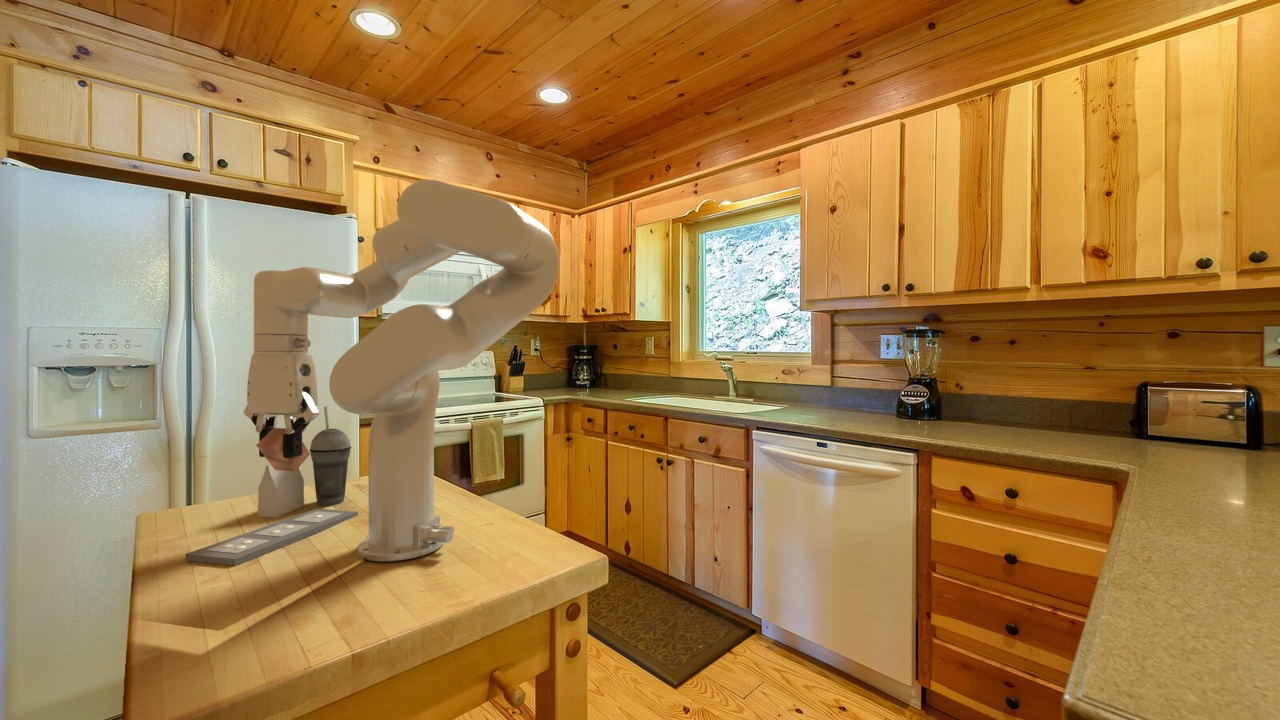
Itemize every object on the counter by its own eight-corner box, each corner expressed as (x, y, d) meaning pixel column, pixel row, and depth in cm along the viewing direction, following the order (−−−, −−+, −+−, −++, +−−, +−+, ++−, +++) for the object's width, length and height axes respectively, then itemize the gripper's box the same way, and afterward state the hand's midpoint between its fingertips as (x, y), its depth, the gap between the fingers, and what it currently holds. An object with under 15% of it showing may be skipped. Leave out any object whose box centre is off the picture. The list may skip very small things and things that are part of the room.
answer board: (357, 517, 100) (357, 510, 100) (235, 565, 77) (235, 557, 77) (316, 513, 102) (316, 507, 102) (185, 560, 79) (185, 552, 79)
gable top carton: (303, 509, 105) (303, 458, 105) (276, 520, 98) (276, 465, 98) (286, 509, 105) (286, 458, 105) (258, 519, 99) (258, 465, 99)
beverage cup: (332, 512, 103) (332, 408, 103) (300, 510, 104) (300, 407, 104) (359, 502, 110) (359, 405, 110) (329, 500, 112) (328, 404, 111)
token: (310, 453, 93) (293, 428, 89) (295, 471, 90) (276, 446, 86) (291, 452, 94) (273, 427, 90) (275, 470, 91) (255, 445, 87)
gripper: (341, 347, 91) (340, 454, 91) (260, 346, 95) (259, 450, 95) (304, 346, 84) (304, 463, 84) (218, 345, 87) (218, 457, 87)
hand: (280, 455), depth 89 cm, fingers closed on token, 4 cm apart
